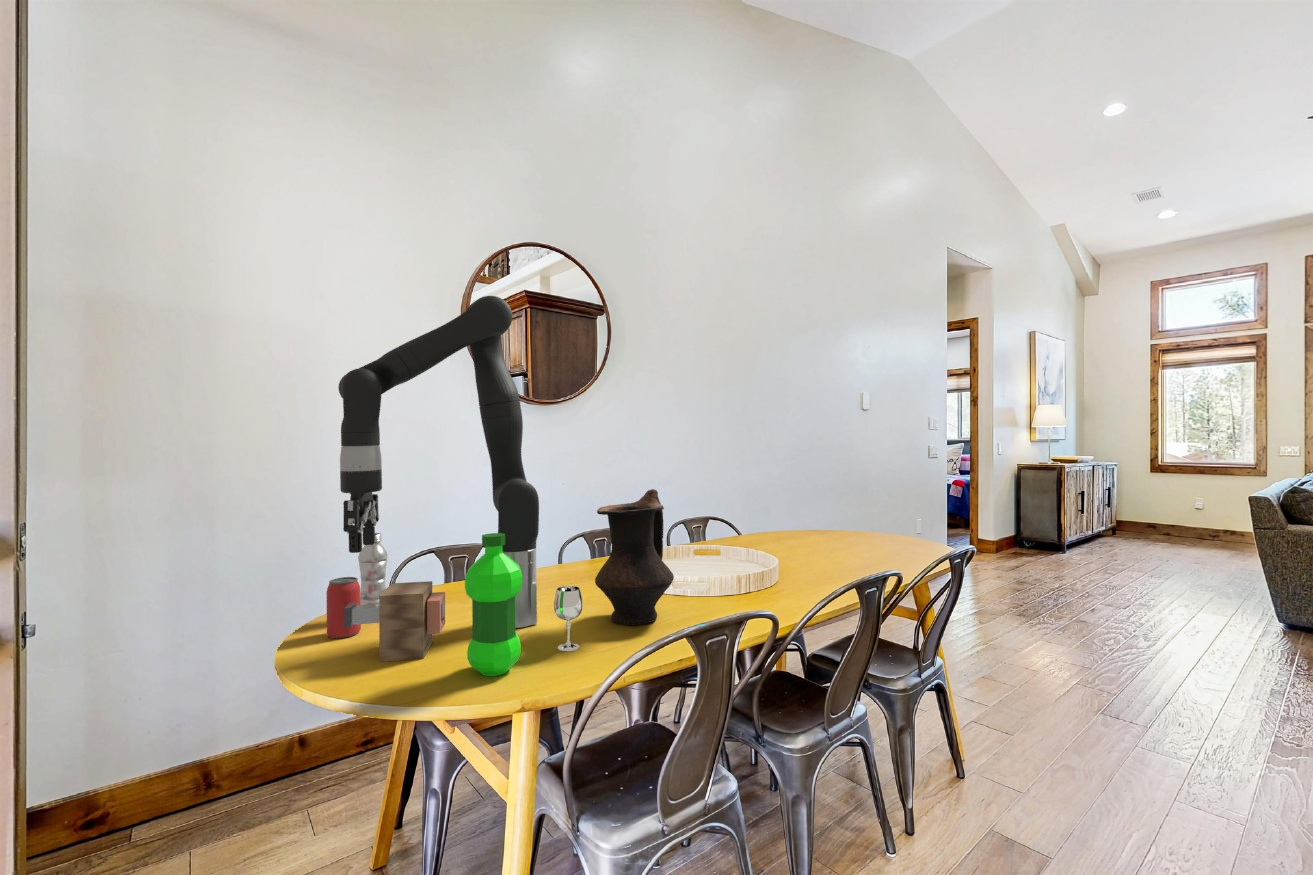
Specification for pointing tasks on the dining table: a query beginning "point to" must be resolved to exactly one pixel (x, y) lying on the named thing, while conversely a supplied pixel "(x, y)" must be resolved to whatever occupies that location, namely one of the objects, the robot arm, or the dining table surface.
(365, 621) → the shaft
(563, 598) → the wineglass
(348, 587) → the beer can
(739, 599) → the dining table surface
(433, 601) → the spacer
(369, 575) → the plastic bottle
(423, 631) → the brown wooden block
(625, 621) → the jug
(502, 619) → the plastic bottle
